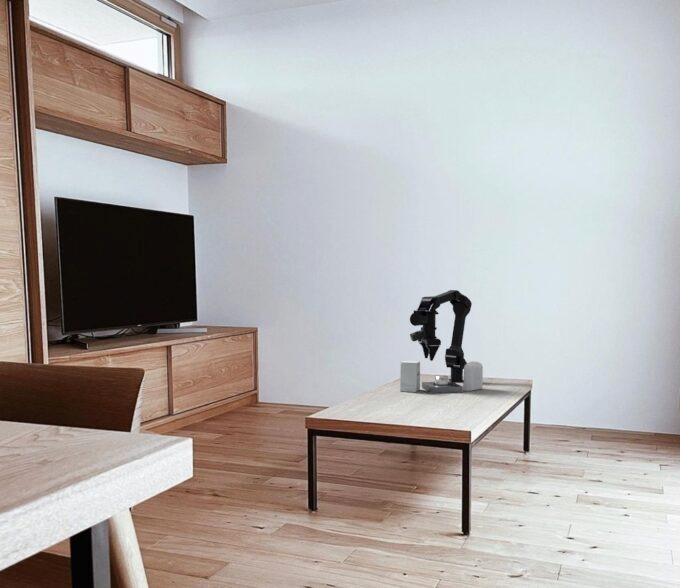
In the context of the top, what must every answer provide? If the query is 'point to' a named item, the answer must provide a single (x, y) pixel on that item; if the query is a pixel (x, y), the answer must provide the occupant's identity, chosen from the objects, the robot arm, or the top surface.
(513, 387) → the top surface
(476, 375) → the photo printer
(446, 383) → the lens
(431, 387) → the mount plate
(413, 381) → the supplement box
